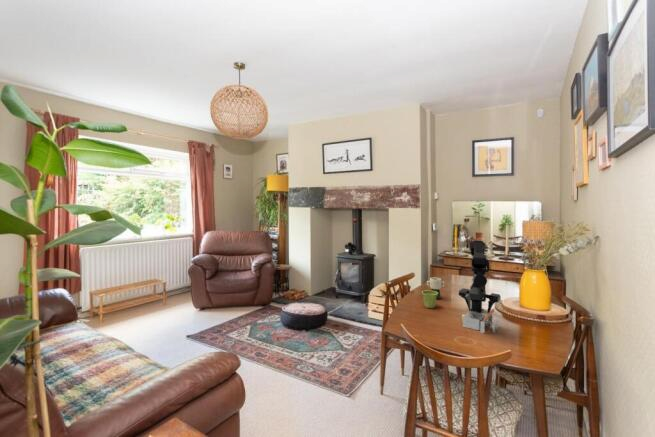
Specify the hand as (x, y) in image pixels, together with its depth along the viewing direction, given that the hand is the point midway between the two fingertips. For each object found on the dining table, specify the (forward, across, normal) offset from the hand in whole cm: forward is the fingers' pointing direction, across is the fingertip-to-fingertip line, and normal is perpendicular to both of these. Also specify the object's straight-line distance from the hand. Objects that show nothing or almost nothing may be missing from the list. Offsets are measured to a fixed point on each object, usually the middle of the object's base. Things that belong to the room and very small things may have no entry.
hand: (478, 311), depth 167 cm
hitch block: (+8, +1, 0) cm, 8 cm away
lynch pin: (+7, -1, 0) cm, 8 cm away
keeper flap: (+1, +5, 0) cm, 5 cm away
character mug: (+8, -36, +32) cm, 49 cm away
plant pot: (+8, -32, +14) cm, 36 cm away
